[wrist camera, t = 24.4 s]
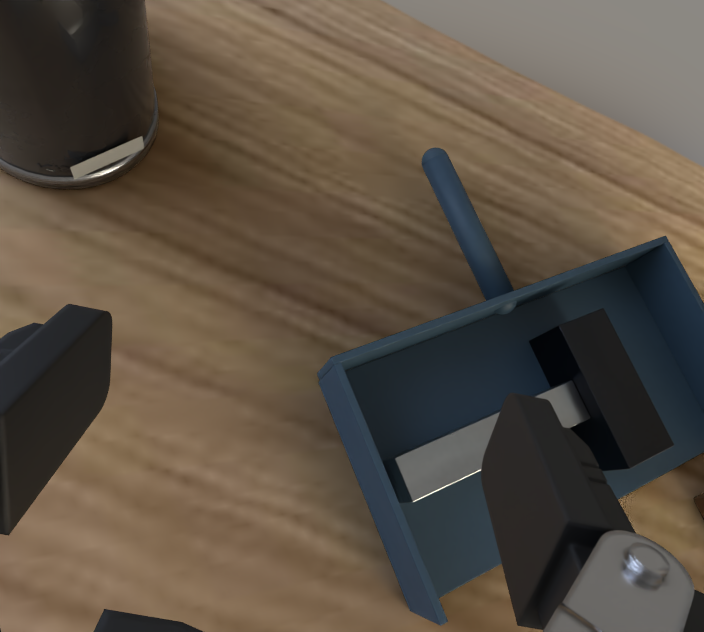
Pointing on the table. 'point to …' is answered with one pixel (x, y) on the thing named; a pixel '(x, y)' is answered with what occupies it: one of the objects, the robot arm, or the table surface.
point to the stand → (700, 503)
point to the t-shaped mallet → (569, 404)
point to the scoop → (503, 387)
